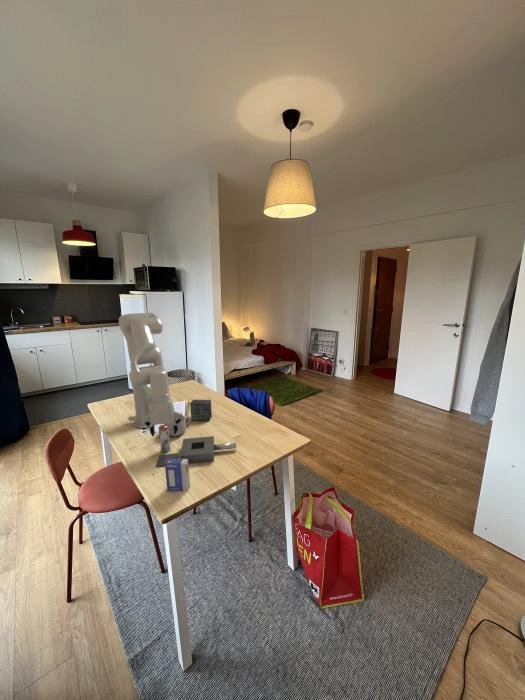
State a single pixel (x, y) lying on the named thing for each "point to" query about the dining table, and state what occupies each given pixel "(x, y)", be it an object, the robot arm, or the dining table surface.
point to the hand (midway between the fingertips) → (164, 433)
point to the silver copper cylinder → (164, 438)
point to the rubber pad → (163, 459)
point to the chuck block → (201, 449)
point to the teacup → (181, 426)
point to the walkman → (177, 474)
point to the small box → (201, 410)
